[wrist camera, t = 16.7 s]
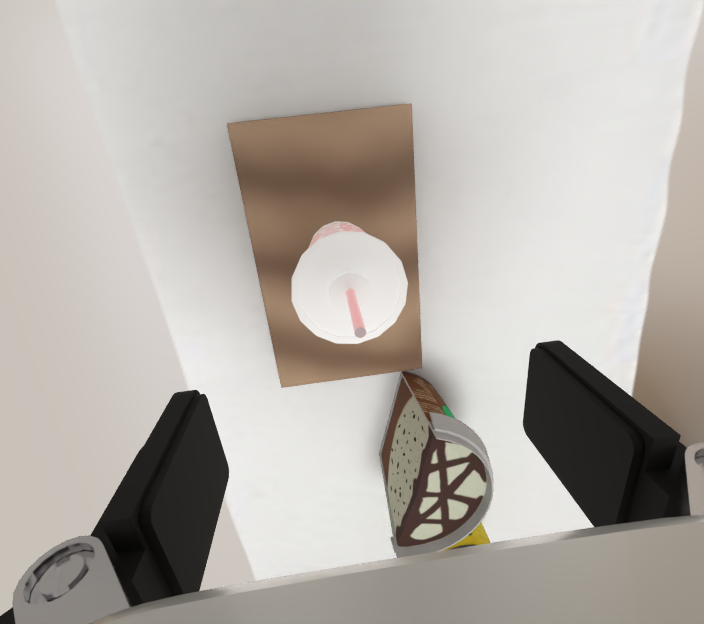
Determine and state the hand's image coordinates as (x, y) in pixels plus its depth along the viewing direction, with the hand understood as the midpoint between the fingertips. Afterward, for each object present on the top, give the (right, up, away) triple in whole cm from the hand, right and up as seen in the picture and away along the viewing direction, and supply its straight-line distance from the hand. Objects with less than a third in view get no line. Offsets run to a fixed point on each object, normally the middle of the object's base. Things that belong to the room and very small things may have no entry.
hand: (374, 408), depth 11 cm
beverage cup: (-2, +7, +17) cm, 19 cm away
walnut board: (-2, +7, +19) cm, 20 cm away
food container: (+6, -7, +25) cm, 27 cm away
